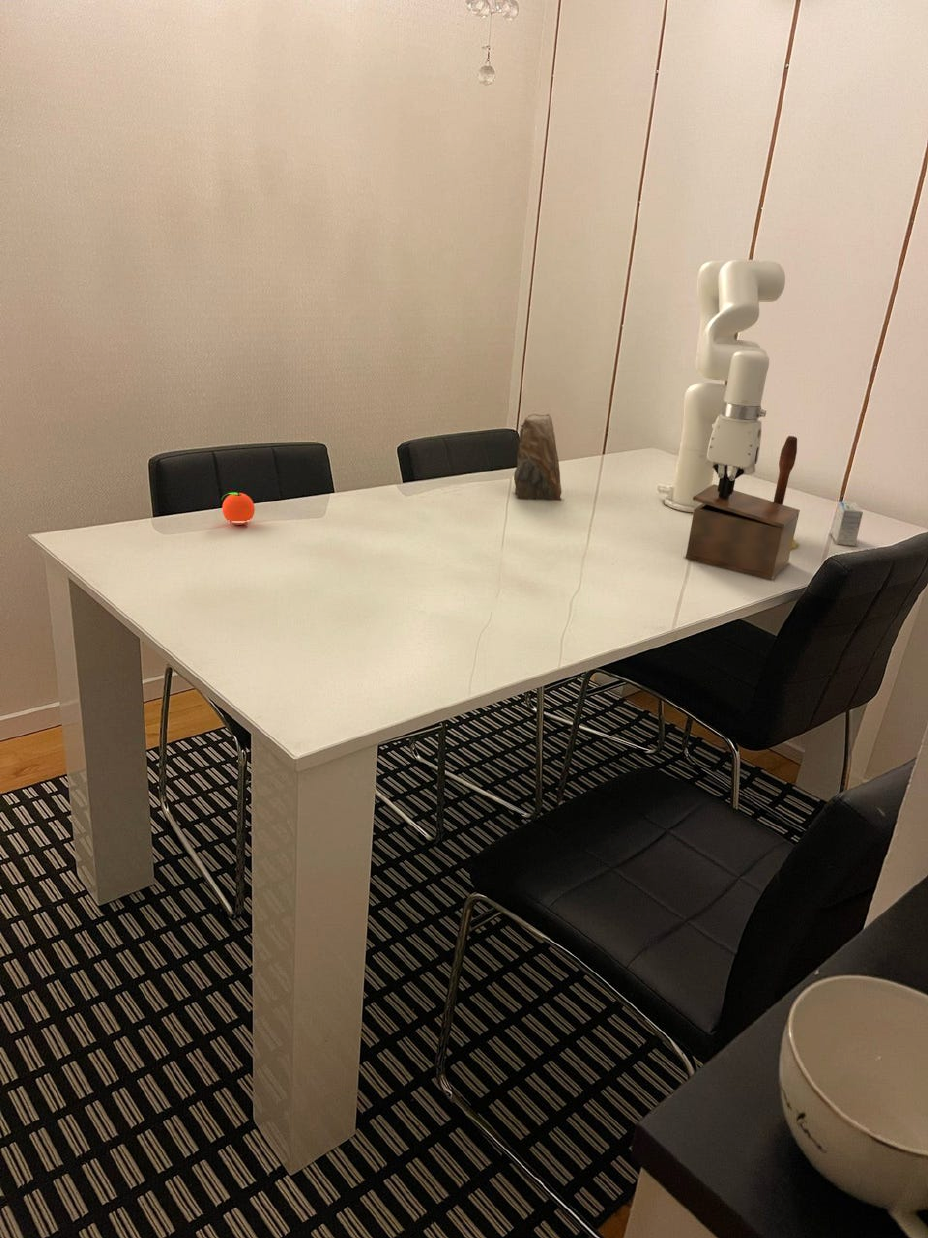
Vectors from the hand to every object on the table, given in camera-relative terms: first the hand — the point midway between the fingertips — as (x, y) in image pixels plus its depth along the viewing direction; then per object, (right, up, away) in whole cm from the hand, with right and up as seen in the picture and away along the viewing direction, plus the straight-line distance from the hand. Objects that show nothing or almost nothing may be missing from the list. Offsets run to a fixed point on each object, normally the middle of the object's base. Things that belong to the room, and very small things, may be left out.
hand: (724, 496), depth 204 cm
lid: (+4, -3, -2) cm, 5 cm away
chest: (+4, -14, +3) cm, 15 cm away
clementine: (-107, -6, +1) cm, 107 cm away
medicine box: (+35, -8, +23) cm, 43 cm away
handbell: (+16, -9, +18) cm, 26 cm away
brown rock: (-38, +5, +40) cm, 55 cm away
